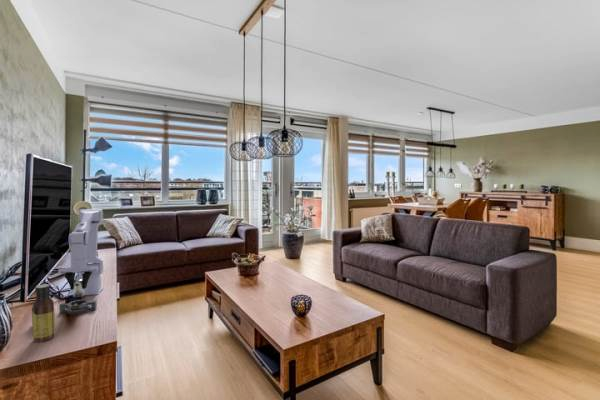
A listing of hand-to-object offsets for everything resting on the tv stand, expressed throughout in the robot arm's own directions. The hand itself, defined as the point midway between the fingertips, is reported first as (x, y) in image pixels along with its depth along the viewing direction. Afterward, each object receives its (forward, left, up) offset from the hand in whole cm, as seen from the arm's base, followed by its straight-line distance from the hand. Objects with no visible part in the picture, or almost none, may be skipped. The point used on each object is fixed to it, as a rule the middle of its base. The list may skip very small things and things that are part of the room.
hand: (78, 288), depth 135 cm
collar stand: (0, 0, -10) cm, 10 cm away
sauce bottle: (+25, -3, -10) cm, 27 cm away
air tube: (0, 0, -3) cm, 3 cm away
